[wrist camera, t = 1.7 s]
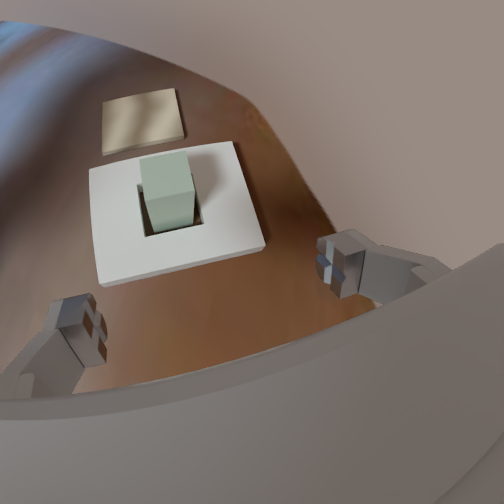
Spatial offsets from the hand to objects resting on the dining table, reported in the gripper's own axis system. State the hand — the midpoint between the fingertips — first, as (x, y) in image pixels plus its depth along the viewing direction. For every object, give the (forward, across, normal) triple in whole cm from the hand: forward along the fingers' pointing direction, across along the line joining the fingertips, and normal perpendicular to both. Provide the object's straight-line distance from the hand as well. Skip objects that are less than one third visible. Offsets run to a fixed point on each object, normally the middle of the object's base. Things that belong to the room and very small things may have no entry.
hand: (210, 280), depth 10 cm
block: (+24, 0, +6) cm, 24 cm away
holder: (+24, 0, +6) cm, 24 cm away
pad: (+34, +2, -5) cm, 35 cm away
